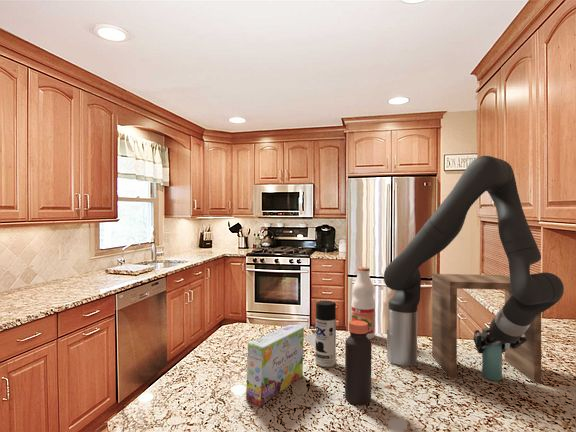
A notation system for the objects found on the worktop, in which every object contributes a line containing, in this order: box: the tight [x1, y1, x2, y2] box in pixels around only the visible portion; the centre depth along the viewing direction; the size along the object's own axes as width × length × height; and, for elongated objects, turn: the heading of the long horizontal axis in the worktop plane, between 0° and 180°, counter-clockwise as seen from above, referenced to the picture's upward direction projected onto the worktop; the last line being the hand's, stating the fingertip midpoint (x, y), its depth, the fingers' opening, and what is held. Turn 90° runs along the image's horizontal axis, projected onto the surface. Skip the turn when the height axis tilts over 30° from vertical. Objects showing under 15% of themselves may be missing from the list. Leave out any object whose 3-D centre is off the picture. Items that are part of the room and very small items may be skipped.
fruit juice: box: [351, 266, 376, 340], centre depth 142 cm, size 9×9×28 cm
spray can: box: [314, 300, 337, 368], centre depth 114 cm, size 7×7×20 cm
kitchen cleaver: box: [304, 325, 316, 349], centre depth 139 cm, size 24×1×10 cm
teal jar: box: [481, 327, 503, 382], centre depth 105 cm, size 5×5×14 cm
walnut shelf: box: [431, 273, 542, 384], centre depth 111 cm, size 26×16×29 cm, turn 85°
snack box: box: [245, 324, 305, 407], centre depth 97 cm, size 21×6×15 cm, turn 148°
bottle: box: [344, 320, 373, 406], centre depth 91 cm, size 7×7×20 cm
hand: (488, 350), depth 107 cm, fingers closed on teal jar, 5 cm apart
